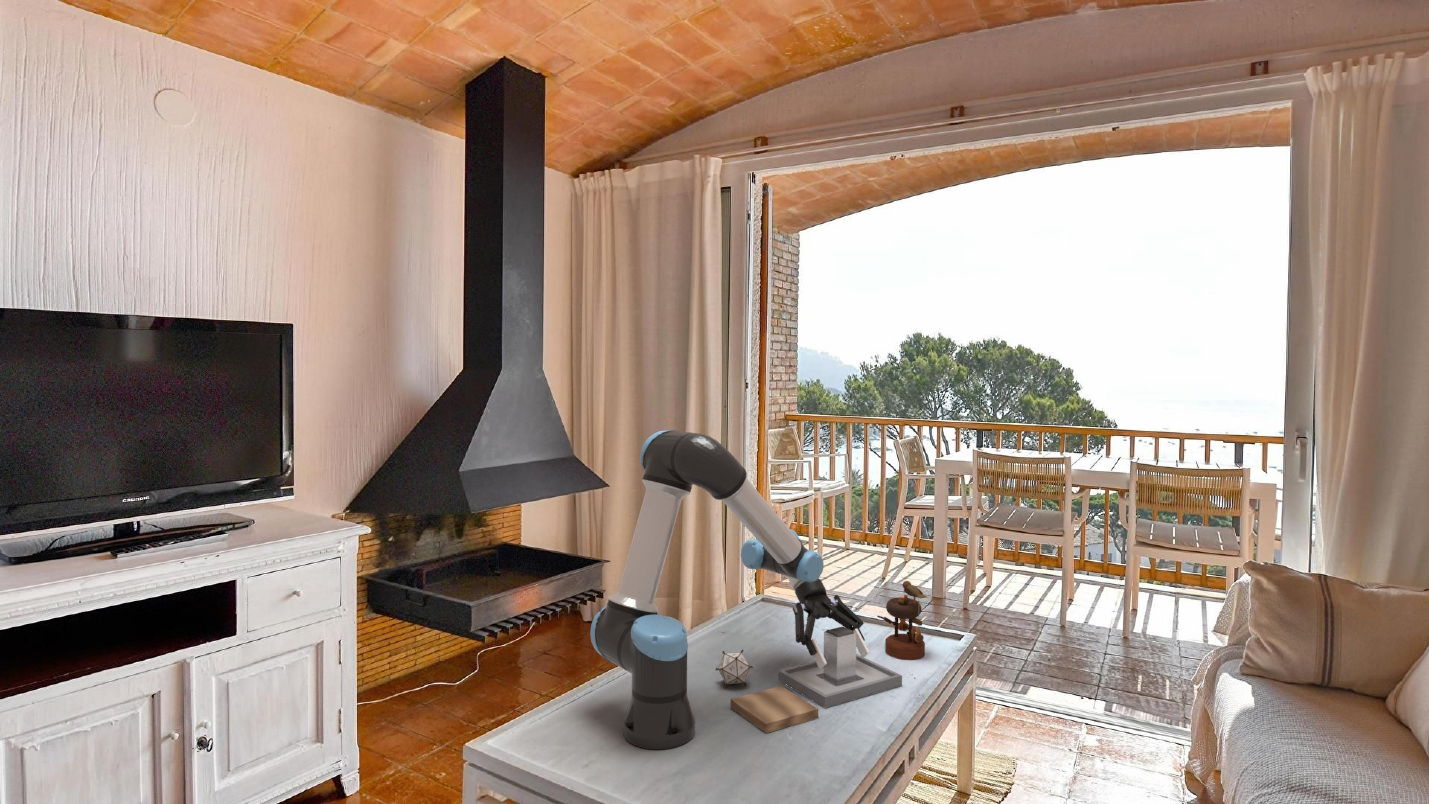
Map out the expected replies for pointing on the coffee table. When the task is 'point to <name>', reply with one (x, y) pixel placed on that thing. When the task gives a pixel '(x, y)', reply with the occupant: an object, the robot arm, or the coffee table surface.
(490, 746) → the coffee table surface
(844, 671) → the block
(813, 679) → the grey flat frame
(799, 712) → the board
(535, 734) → the coffee table surface
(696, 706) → the coffee table surface
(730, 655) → the game die
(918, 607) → the music box
